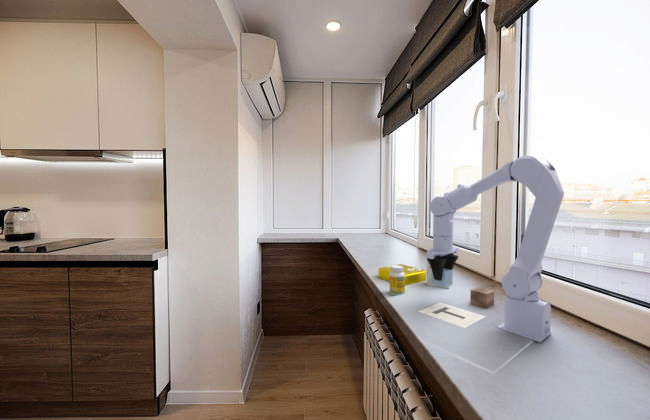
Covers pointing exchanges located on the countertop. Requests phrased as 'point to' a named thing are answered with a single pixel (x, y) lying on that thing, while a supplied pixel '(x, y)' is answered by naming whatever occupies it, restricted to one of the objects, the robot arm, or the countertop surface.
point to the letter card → (452, 314)
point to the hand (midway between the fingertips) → (442, 278)
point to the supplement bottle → (397, 281)
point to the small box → (429, 272)
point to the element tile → (410, 273)
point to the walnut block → (482, 297)
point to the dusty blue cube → (444, 278)
